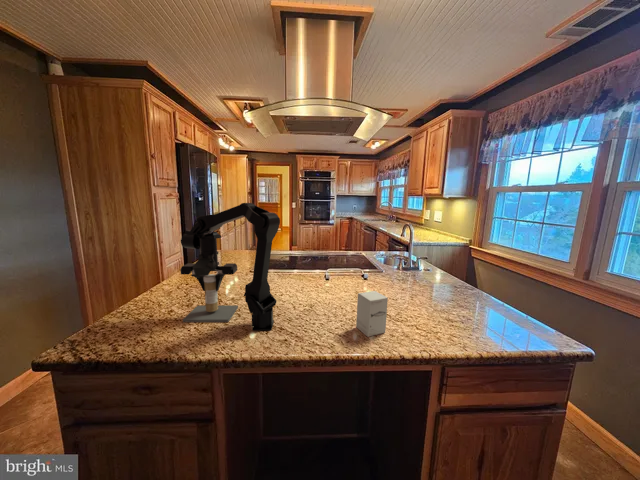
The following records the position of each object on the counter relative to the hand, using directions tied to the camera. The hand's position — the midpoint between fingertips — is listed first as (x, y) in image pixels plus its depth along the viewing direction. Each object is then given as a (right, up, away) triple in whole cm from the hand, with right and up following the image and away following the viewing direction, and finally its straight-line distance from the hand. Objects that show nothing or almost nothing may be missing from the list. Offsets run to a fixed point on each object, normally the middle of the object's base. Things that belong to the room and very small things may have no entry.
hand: (211, 290), depth 93 cm
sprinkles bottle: (0, -8, +1) cm, 8 cm away
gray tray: (0, -9, +1) cm, 9 cm away
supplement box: (+58, -12, -8) cm, 60 cm away
